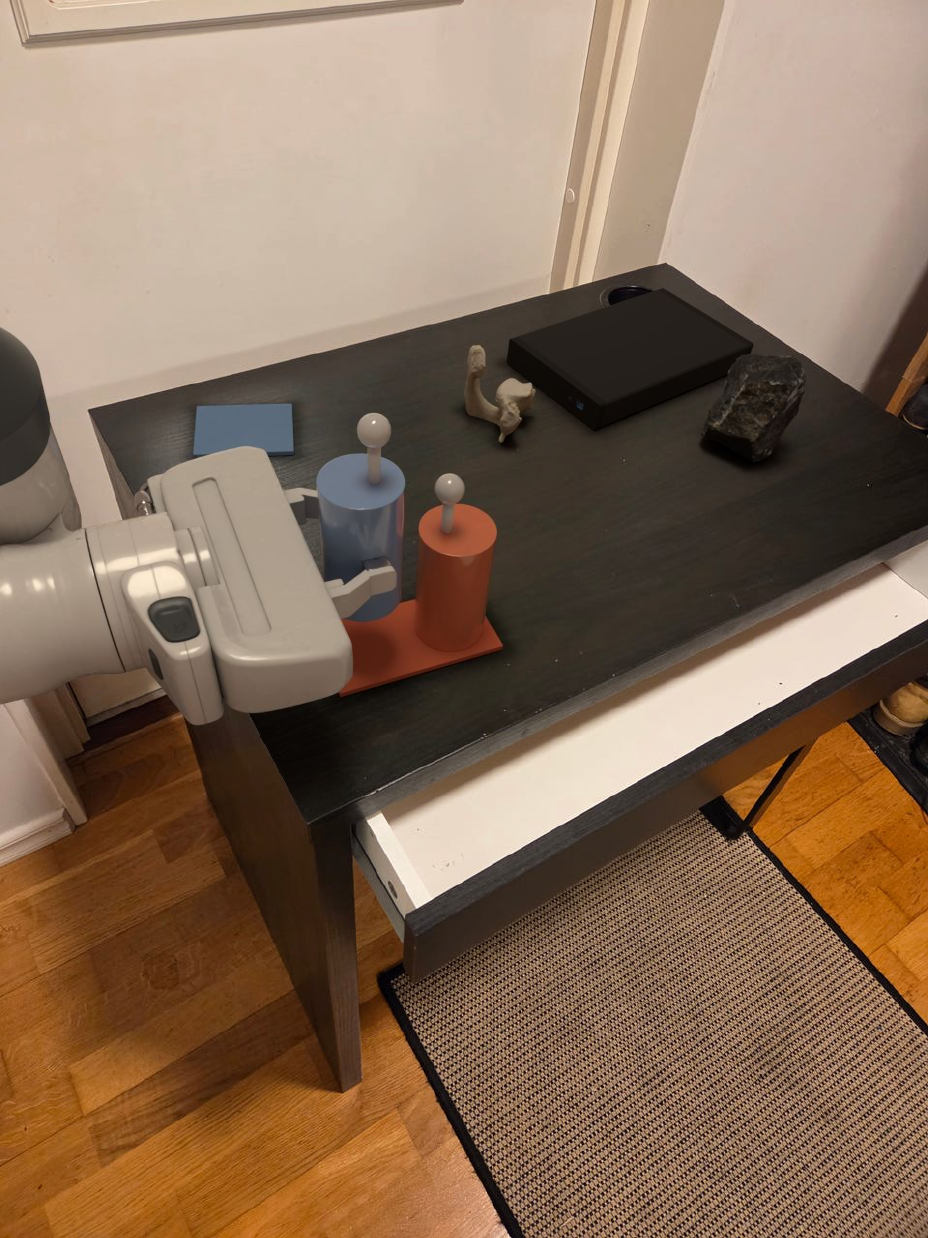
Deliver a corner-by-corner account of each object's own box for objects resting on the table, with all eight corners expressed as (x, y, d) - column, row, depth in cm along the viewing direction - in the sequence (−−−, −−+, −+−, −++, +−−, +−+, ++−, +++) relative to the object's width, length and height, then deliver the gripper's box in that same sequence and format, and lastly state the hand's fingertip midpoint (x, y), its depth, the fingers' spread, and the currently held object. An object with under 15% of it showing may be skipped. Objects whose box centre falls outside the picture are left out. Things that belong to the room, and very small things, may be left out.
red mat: (339, 697, 61) (339, 693, 61) (312, 630, 65) (311, 626, 65) (502, 649, 65) (503, 645, 65) (466, 589, 69) (467, 584, 69)
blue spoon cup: (325, 625, 57) (313, 447, 46) (321, 568, 61) (309, 390, 50) (405, 619, 58) (412, 443, 47) (397, 564, 61) (402, 388, 51)
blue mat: (193, 458, 78) (192, 454, 77) (197, 410, 83) (196, 405, 82) (294, 455, 79) (293, 450, 79) (291, 407, 84) (291, 403, 84)
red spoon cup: (418, 654, 64) (426, 505, 53) (410, 601, 67) (416, 451, 56) (489, 649, 65) (511, 501, 54) (477, 597, 68) (496, 448, 57)
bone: (566, 425, 83) (529, 354, 75) (514, 468, 83) (472, 401, 75) (521, 384, 88) (482, 313, 80) (473, 424, 88) (429, 357, 81)
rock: (786, 445, 86) (824, 356, 79) (759, 480, 82) (797, 390, 75) (714, 415, 89) (745, 326, 81) (685, 447, 85) (715, 357, 77)
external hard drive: (745, 367, 96) (754, 343, 93) (593, 431, 85) (599, 405, 83) (655, 310, 103) (662, 286, 100) (505, 362, 92) (509, 337, 90)
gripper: (138, 518, 60) (328, 479, 64) (202, 750, 48) (430, 682, 52) (118, 445, 55) (324, 408, 60) (183, 681, 43) (435, 612, 48)
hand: (375, 537), depth 56 cm, fingers closed on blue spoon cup, 5 cm apart
